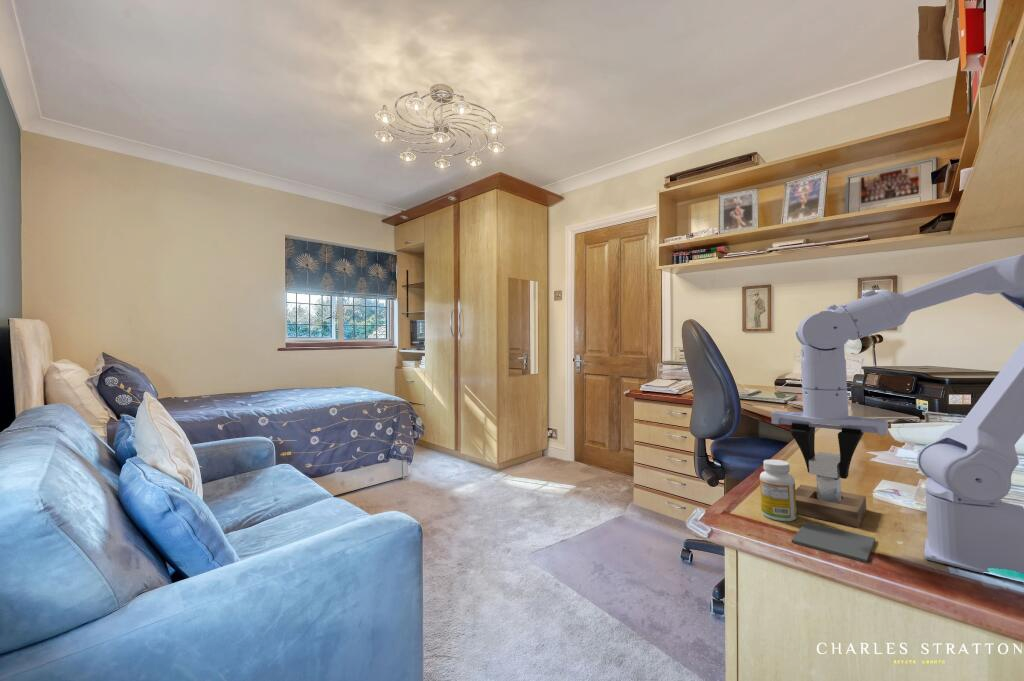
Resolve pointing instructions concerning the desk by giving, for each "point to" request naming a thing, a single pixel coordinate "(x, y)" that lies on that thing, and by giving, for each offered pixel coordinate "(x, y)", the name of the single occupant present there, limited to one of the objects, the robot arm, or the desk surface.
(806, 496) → the socket block
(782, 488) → the supplement bottle
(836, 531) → the charcoal mat
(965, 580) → the desk surface
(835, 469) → the steel t key
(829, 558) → the desk surface
